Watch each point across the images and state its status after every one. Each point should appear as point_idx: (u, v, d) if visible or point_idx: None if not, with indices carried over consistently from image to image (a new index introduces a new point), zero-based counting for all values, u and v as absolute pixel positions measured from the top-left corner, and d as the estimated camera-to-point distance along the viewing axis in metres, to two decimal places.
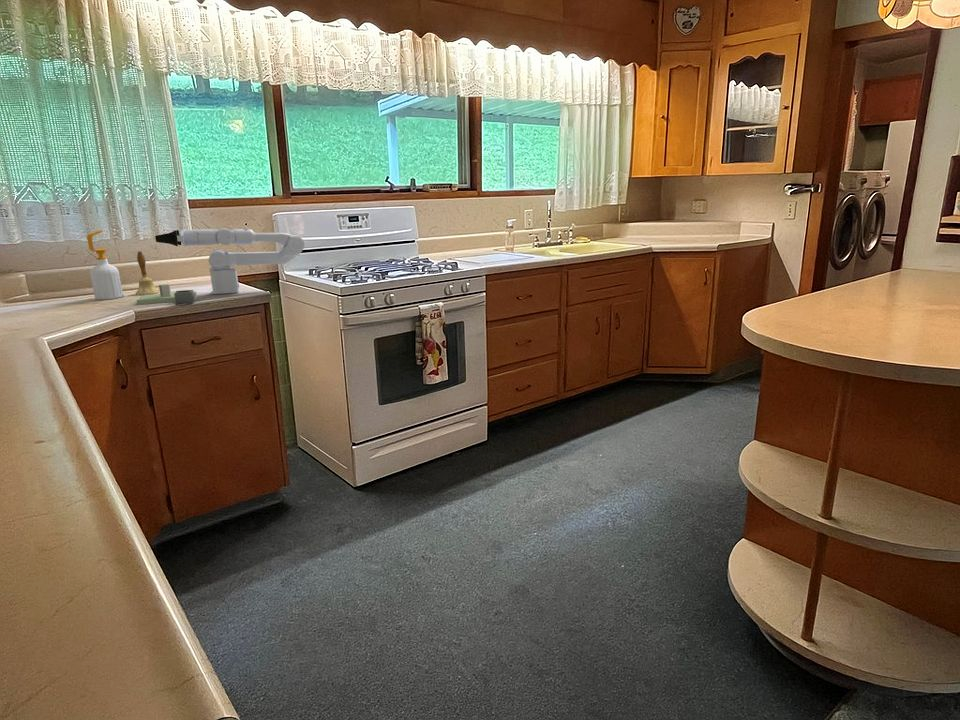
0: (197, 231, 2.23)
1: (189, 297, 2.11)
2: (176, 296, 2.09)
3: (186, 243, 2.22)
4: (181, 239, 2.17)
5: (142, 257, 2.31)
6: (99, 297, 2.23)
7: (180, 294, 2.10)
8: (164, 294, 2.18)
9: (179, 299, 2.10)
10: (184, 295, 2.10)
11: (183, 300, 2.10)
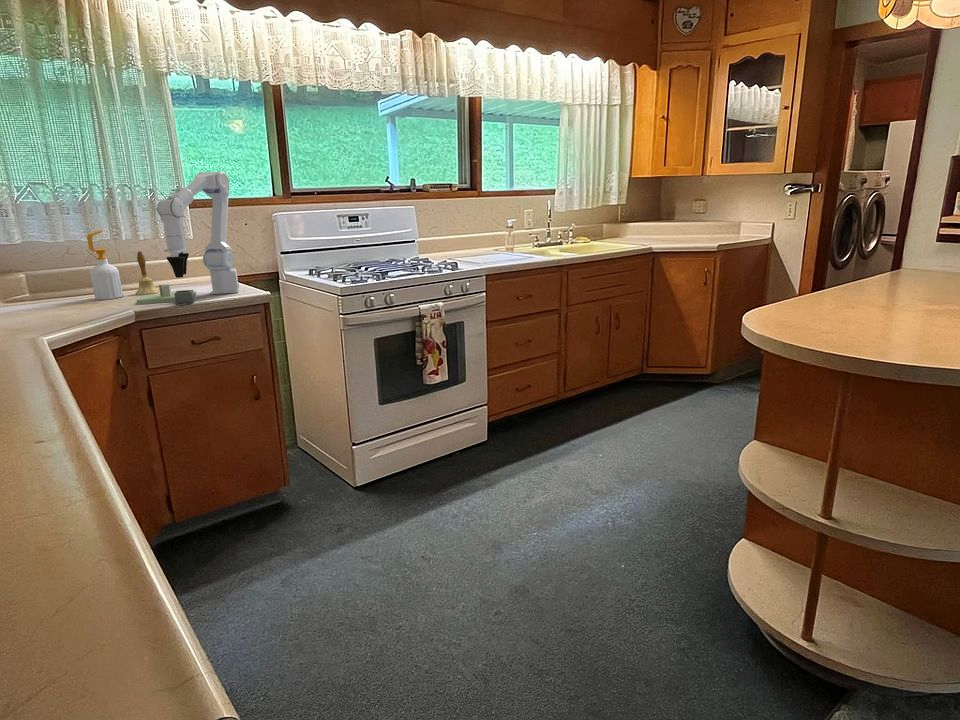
0: (166, 236, 2.05)
1: (189, 297, 2.11)
2: (176, 296, 2.09)
3: (182, 248, 2.07)
4: (175, 252, 2.02)
5: (142, 257, 2.31)
6: (99, 297, 2.23)
7: (180, 294, 2.10)
8: (164, 294, 2.18)
9: (179, 299, 2.10)
10: (184, 295, 2.10)
11: (183, 300, 2.10)
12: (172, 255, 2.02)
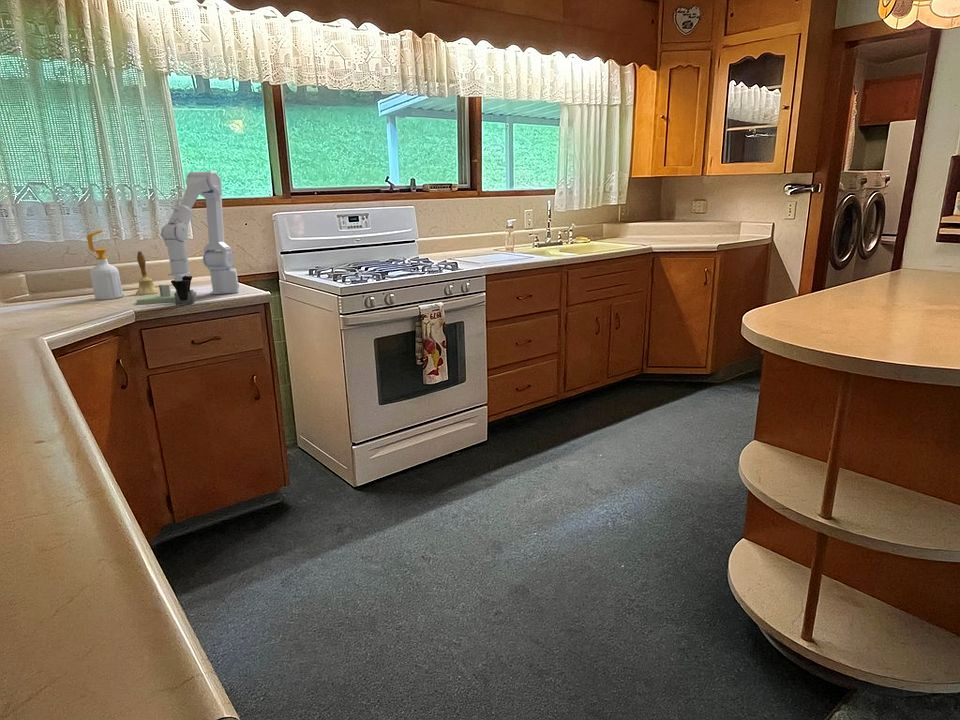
0: (170, 260, 2.07)
1: (189, 297, 2.11)
2: (176, 296, 2.09)
3: (186, 271, 2.09)
4: (179, 276, 2.04)
5: (142, 257, 2.31)
6: (99, 297, 2.23)
7: None
8: (164, 294, 2.18)
9: (179, 299, 2.10)
10: None
11: None
12: (176, 279, 2.04)
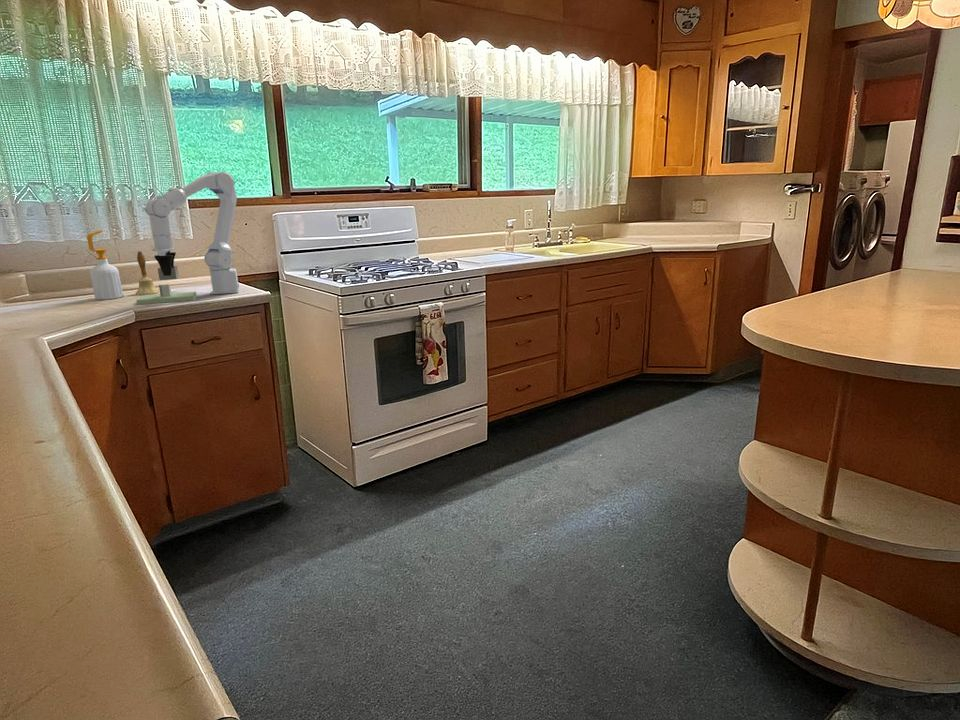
0: (154, 235, 2.09)
1: (172, 272, 2.13)
2: (159, 271, 2.12)
3: (169, 247, 2.11)
4: (162, 251, 2.06)
5: (142, 257, 2.31)
6: (99, 297, 2.23)
7: None
8: (164, 294, 2.18)
9: (162, 274, 2.12)
10: None
11: None
12: (159, 254, 2.06)
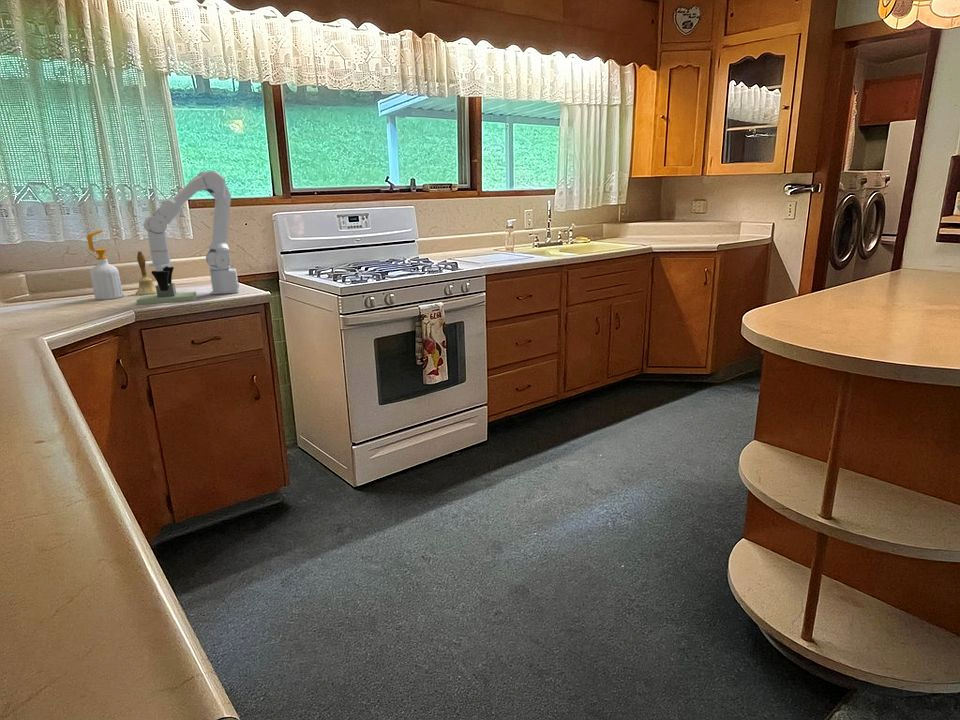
0: (151, 251, 2.13)
1: (170, 290, 2.17)
2: (157, 289, 2.16)
3: (166, 262, 2.15)
4: (159, 267, 2.10)
5: (142, 257, 2.31)
6: (99, 297, 2.23)
7: None
8: None
9: (160, 291, 2.16)
10: None
11: (164, 293, 2.17)
12: (157, 269, 2.10)
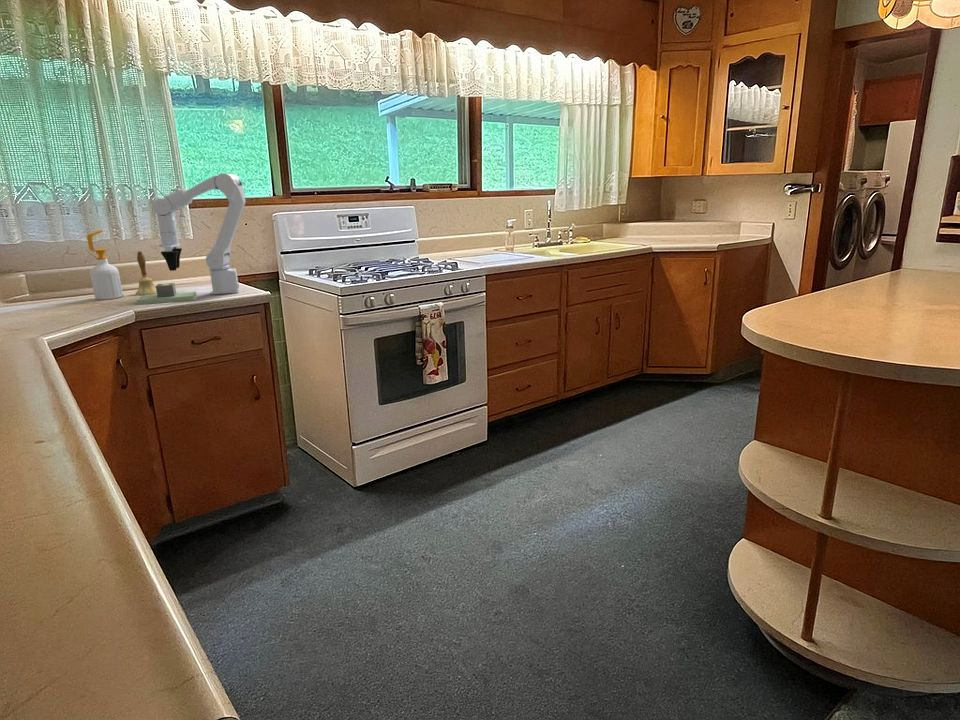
0: (161, 232, 2.23)
1: (170, 290, 2.17)
2: (157, 289, 2.16)
3: (175, 243, 2.25)
4: (168, 247, 2.20)
5: (142, 257, 2.31)
6: (99, 297, 2.23)
7: (161, 287, 2.16)
8: None
9: (160, 291, 2.16)
10: (165, 288, 2.16)
11: (164, 293, 2.17)
12: (166, 250, 2.20)
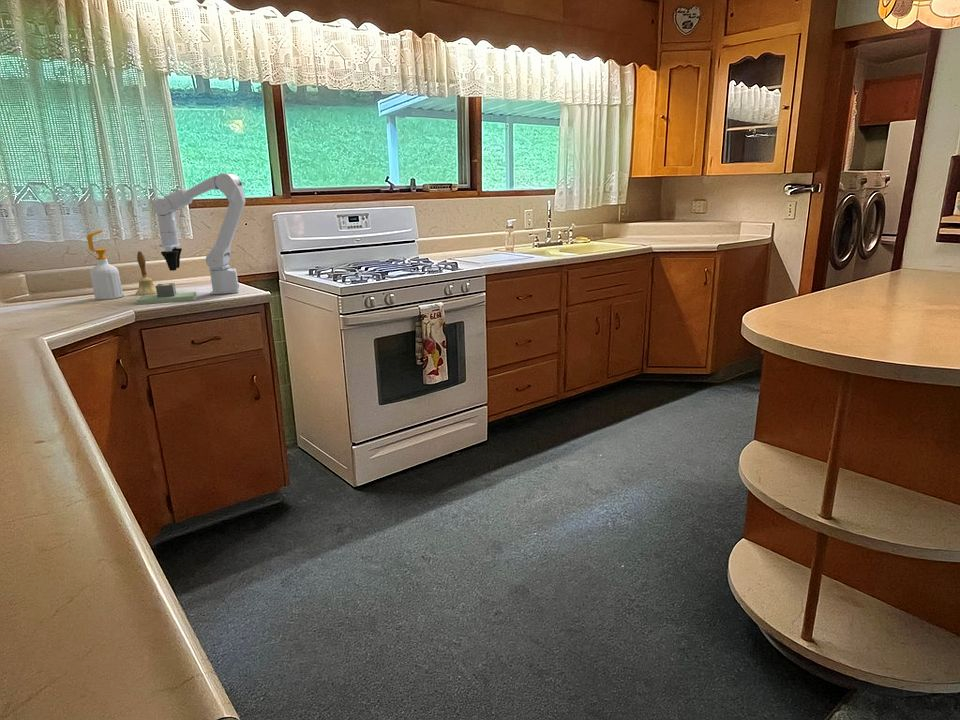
0: (161, 232, 2.23)
1: (170, 290, 2.17)
2: (157, 289, 2.16)
3: (175, 243, 2.25)
4: (168, 247, 2.20)
5: (142, 257, 2.31)
6: (99, 297, 2.23)
7: (161, 287, 2.16)
8: None
9: (160, 291, 2.16)
10: (165, 288, 2.16)
11: (164, 293, 2.17)
12: (166, 250, 2.20)
